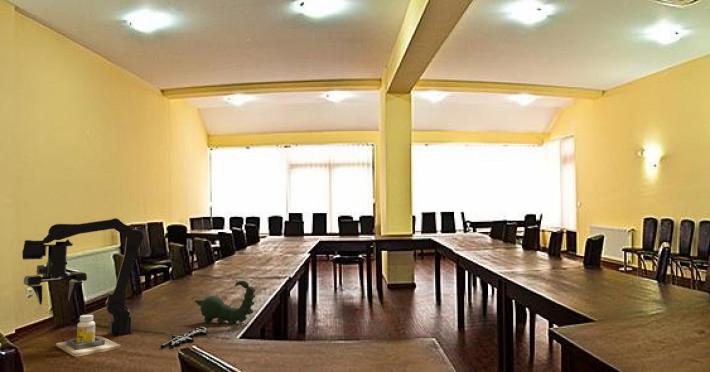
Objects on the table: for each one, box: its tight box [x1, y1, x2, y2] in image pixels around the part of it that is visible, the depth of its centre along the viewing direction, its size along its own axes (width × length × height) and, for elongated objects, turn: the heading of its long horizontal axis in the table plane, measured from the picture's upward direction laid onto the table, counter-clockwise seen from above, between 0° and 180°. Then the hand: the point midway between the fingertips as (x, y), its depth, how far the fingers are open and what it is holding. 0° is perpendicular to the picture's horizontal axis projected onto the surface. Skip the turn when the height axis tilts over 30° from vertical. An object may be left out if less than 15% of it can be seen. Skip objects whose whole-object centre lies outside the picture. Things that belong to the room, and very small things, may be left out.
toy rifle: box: [160, 326, 208, 350], centre depth 177 cm, size 28×2×10 cm
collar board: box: [55, 335, 122, 358], centre depth 164 cm, size 14×18×2 cm
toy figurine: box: [194, 280, 256, 326], centre depth 203 cm, size 9×19×25 cm
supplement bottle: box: [76, 314, 96, 344], centre depth 164 cm, size 5×5×10 cm
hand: (55, 302), depth 174 cm, fingers open, 9 cm apart
